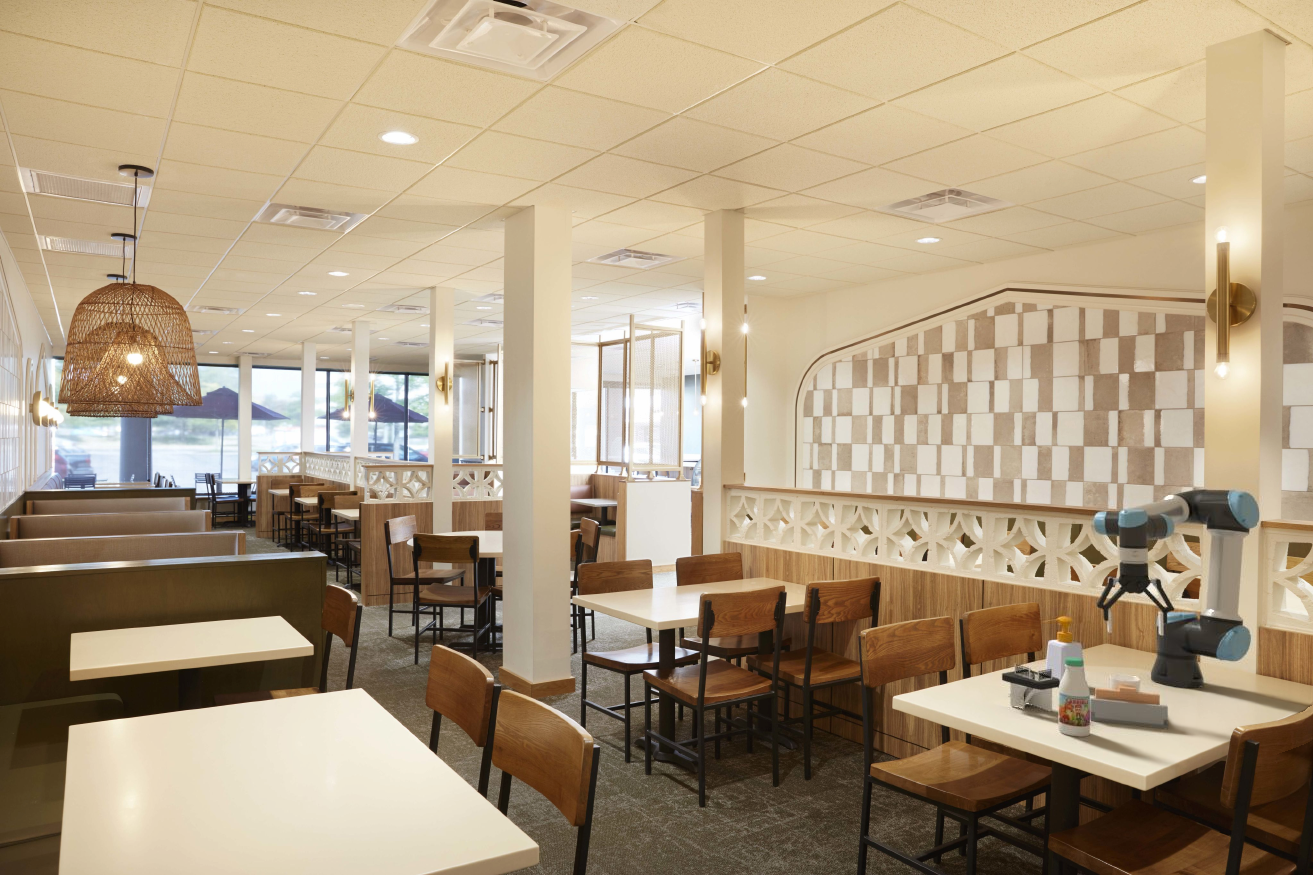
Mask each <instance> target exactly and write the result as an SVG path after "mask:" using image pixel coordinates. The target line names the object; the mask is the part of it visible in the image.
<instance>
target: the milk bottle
mask: <svg viewBox="0 0 1313 875" xmlns="http://www.w3.org/2000/svg"><path fill="white" fill-rule="evenodd" d="M1084 663H1085V661H1084V658H1083V659H1080V658H1075V657H1067V658H1065V666H1066V670H1065V673H1064V676H1063V678H1062V680H1061V682H1060V685H1059V687H1058V704H1057V705H1058V706H1057V707H1058V711H1057V712H1058V716H1057V717H1058V719H1057V720H1058V721H1057V722H1058V723H1057V725H1058V726H1057V727H1058V731H1059V732H1060V733H1061V734H1064V735H1067V736H1072V737H1088V736H1089V735H1090V734H1091V719H1090V700H1091V696H1090V695H1091V694H1090V693H1091V692H1090V687H1089V684H1088V682H1087V680H1086V676H1085V677H1084V674H1083V668H1084V669H1085V664H1084ZM1083 665H1084V667H1083Z"/></svg>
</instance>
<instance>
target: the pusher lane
mask: <svg viewBox="0 0 1313 875" xmlns="http://www.w3.org/2000/svg"><path fill="white" fill-rule="evenodd" d="M1168 714H1169V708H1168V705H1164V704H1160V705H1156V704H1146V703H1136V702H1126V701H1116V700H1106V699H1096V698H1094V697H1090V722H1091V721H1092V722H1101V723H1111V724H1119V725H1128V726H1135V727H1136V726H1139V727H1146V728H1157V729H1164V728H1167V729H1169V715H1168ZM1167 729H1166V730H1167Z"/></svg>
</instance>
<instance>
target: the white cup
mask: <svg viewBox="0 0 1313 875" xmlns="http://www.w3.org/2000/svg"><path fill="white" fill-rule="evenodd" d="M1118 685H1120V686H1131V687H1135V689H1136V692H1140V691H1141V679H1140V678H1139V677H1138V676H1135V675H1134V676H1133V675H1130V674H1110V675H1109V689H1111V690H1118Z"/></svg>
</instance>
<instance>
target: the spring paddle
mask: <svg viewBox="0 0 1313 875" xmlns="http://www.w3.org/2000/svg"><path fill="white" fill-rule="evenodd" d="M1094 691H1095V692H1094V697H1095V698H1096V699H1106V700H1116V701H1126V702H1136V703H1146V704H1156V705H1161V703H1160V696H1161V695H1160V694H1159V693H1154V692H1153V693H1151V692H1142V691H1141V692H1136V689H1135V687H1131V686H1120V685H1118V690H1111V689H1110V688H1100V687H1099V688H1098V687H1095V689H1094Z"/></svg>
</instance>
